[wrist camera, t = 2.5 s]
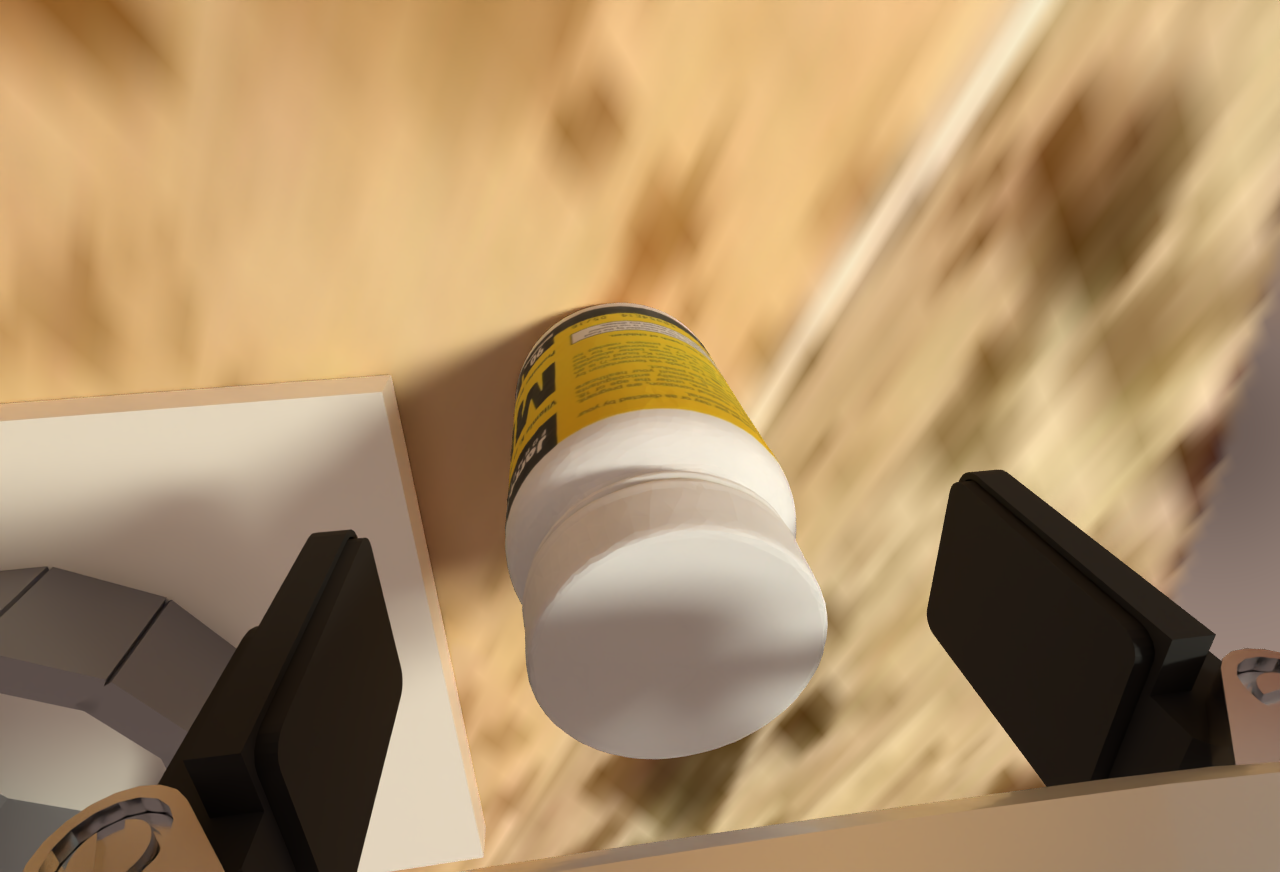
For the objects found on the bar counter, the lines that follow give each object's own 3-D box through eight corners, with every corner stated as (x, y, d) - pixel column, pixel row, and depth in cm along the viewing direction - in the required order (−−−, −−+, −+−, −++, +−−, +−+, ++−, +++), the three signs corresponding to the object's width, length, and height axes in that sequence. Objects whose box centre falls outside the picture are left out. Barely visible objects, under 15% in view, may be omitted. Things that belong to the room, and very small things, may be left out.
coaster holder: (-563, 445, 13) (-903, 552, 10) (391, 374, 15) (353, 446, 12) (-121, 915, 20) (-239, 1062, 17) (485, 827, 22) (477, 944, 19)
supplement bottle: (514, 294, 15) (490, 496, 7) (724, 301, 15) (901, 492, 8) (515, 484, 17) (498, 793, 9) (701, 483, 18) (822, 770, 10)
